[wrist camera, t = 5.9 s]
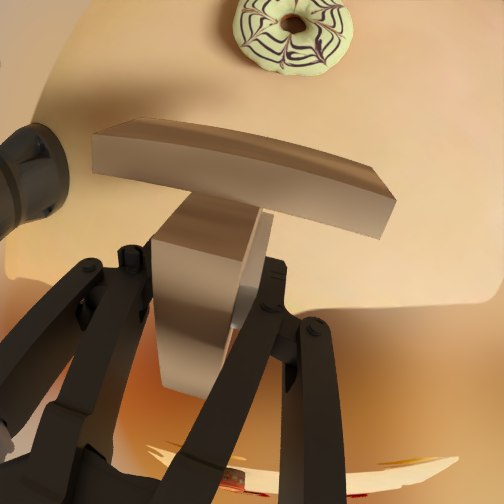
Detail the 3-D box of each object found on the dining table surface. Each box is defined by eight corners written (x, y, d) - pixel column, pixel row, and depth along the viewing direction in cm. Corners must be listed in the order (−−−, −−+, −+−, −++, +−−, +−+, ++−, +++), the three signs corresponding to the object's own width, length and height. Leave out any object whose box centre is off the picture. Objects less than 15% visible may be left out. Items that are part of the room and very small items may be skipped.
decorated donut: (332, 90, 24) (337, 91, 21) (227, 62, 24) (217, 60, 21) (358, 5, 18) (366, -5, 15) (252, -22, 18) (246, -34, 15)
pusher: (310, 313, 22) (306, 419, 14) (140, 269, 22) (83, 353, 14) (371, 166, 15) (431, 252, 7) (141, 117, 15) (31, 161, 8)
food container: (248, 470, 101) (244, 489, 92) (249, 476, 110) (245, 493, 101) (214, 464, 103) (209, 483, 94) (218, 470, 112) (213, 488, 103)
